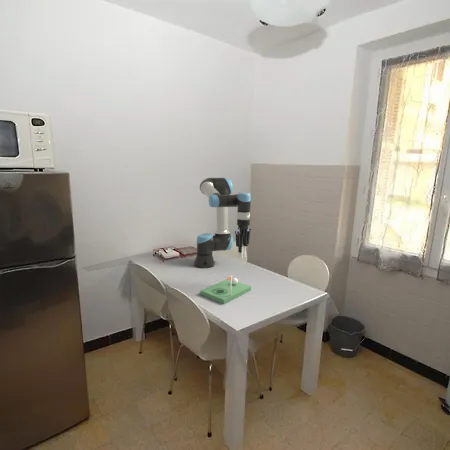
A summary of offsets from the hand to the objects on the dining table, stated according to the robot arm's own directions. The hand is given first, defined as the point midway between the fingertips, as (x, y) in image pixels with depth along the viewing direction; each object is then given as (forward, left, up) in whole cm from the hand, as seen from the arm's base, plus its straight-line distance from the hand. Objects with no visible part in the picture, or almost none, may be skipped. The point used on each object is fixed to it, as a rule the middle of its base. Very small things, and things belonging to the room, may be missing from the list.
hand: (242, 256), depth 180 cm
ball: (0, -6, -14) cm, 15 cm away
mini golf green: (0, -14, -19) cm, 24 cm away
